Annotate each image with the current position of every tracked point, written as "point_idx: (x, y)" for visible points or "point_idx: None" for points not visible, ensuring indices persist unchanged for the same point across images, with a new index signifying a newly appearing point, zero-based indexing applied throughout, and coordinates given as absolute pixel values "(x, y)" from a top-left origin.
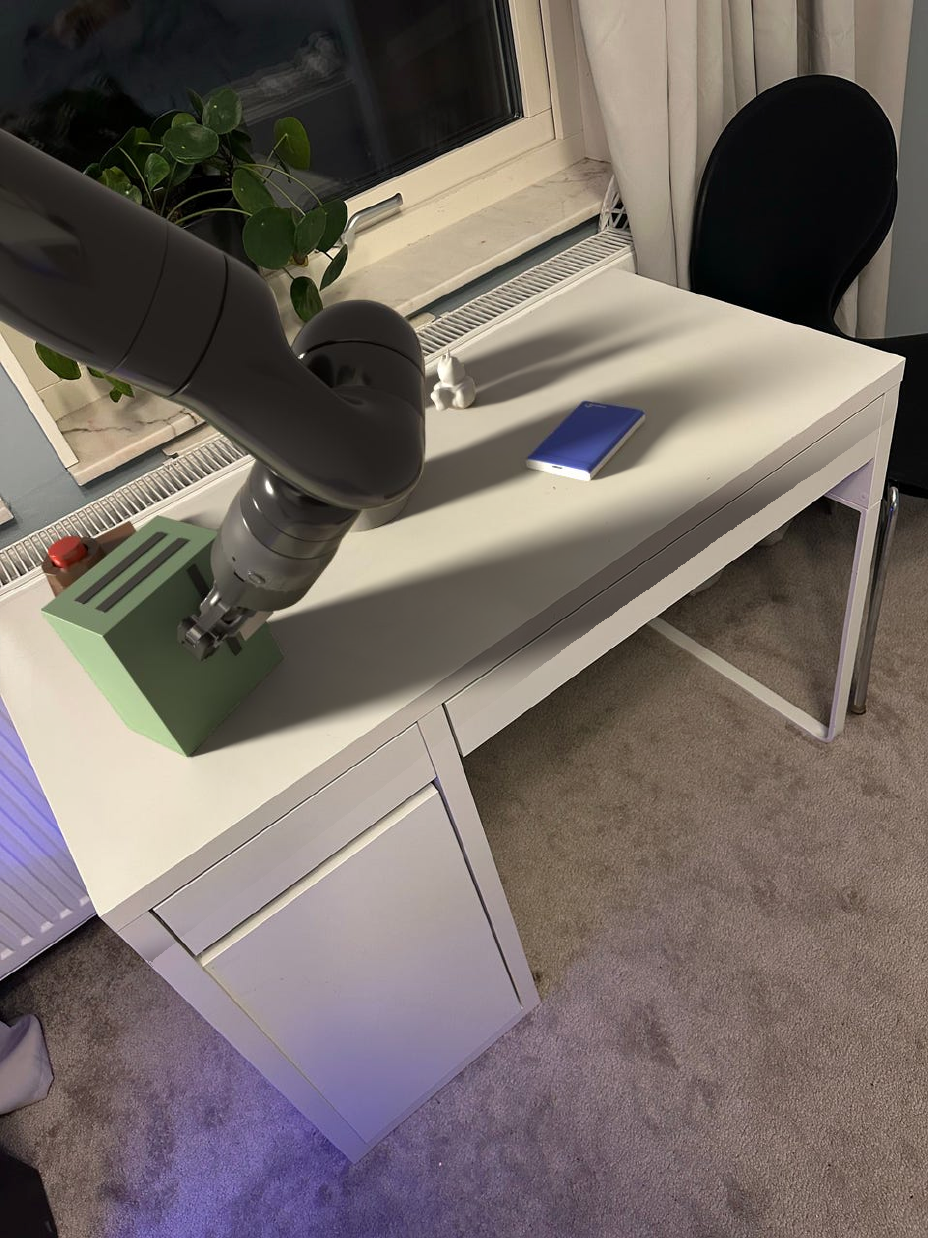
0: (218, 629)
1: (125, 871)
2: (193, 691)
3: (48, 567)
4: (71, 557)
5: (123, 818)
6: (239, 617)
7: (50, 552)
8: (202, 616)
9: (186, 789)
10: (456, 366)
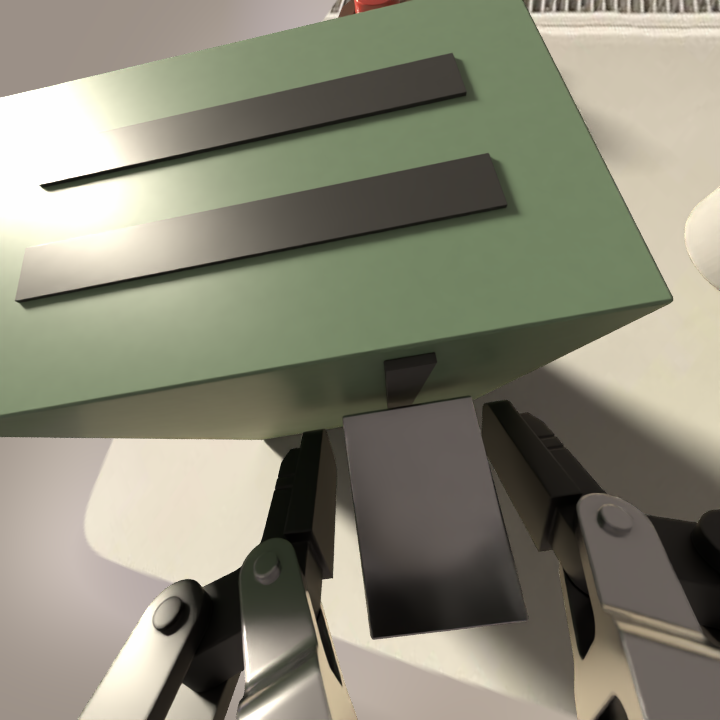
0: (313, 609)
1: (112, 520)
2: (289, 428)
3: (346, 15)
4: None
5: (163, 444)
6: (397, 624)
7: None
8: (247, 676)
9: (227, 483)
10: None
